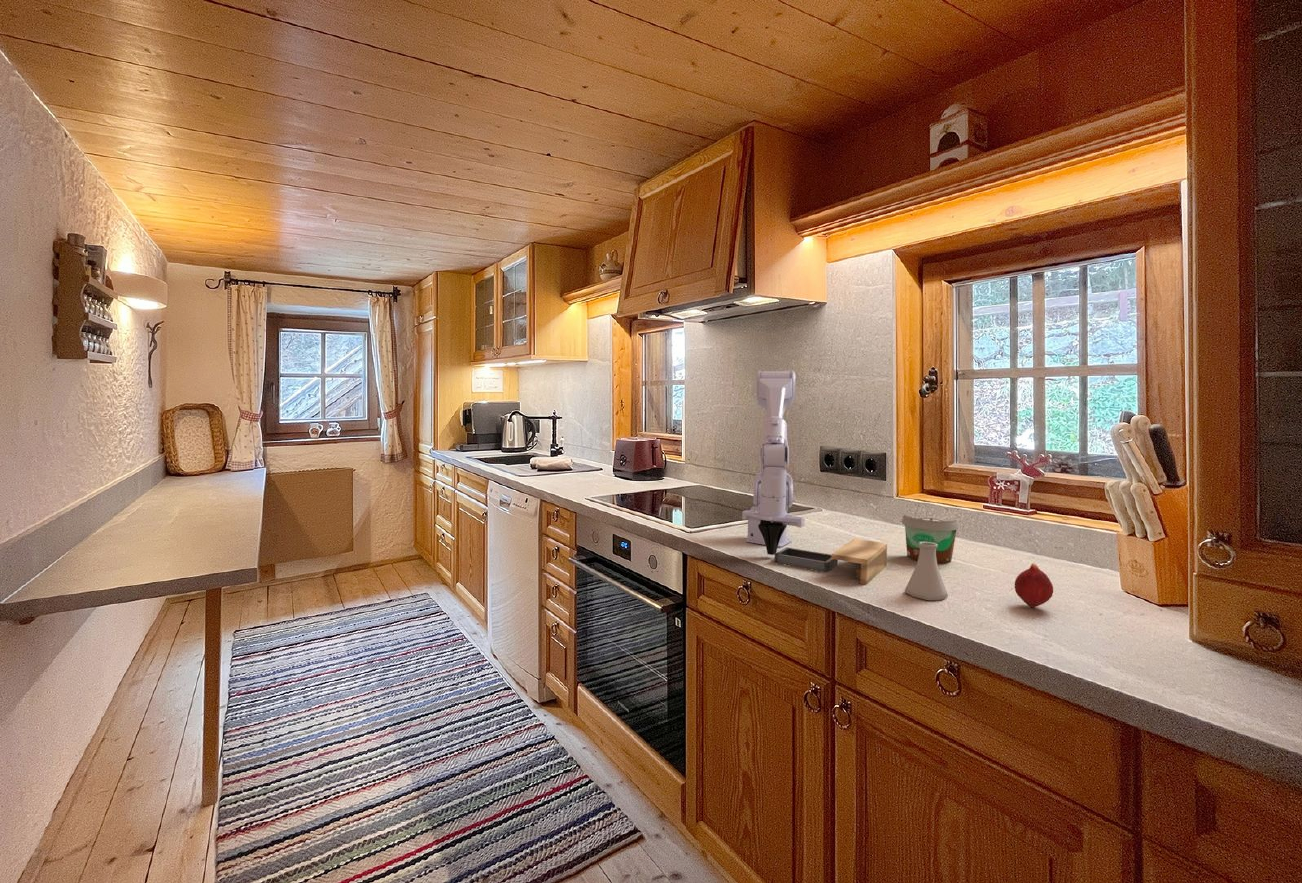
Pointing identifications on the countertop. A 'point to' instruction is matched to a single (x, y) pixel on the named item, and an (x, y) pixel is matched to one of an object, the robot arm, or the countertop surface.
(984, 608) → the countertop surface
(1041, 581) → the onion
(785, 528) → the robot arm
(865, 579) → the pine shelf
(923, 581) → the flask
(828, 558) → the dark grey drawer
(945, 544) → the food container
